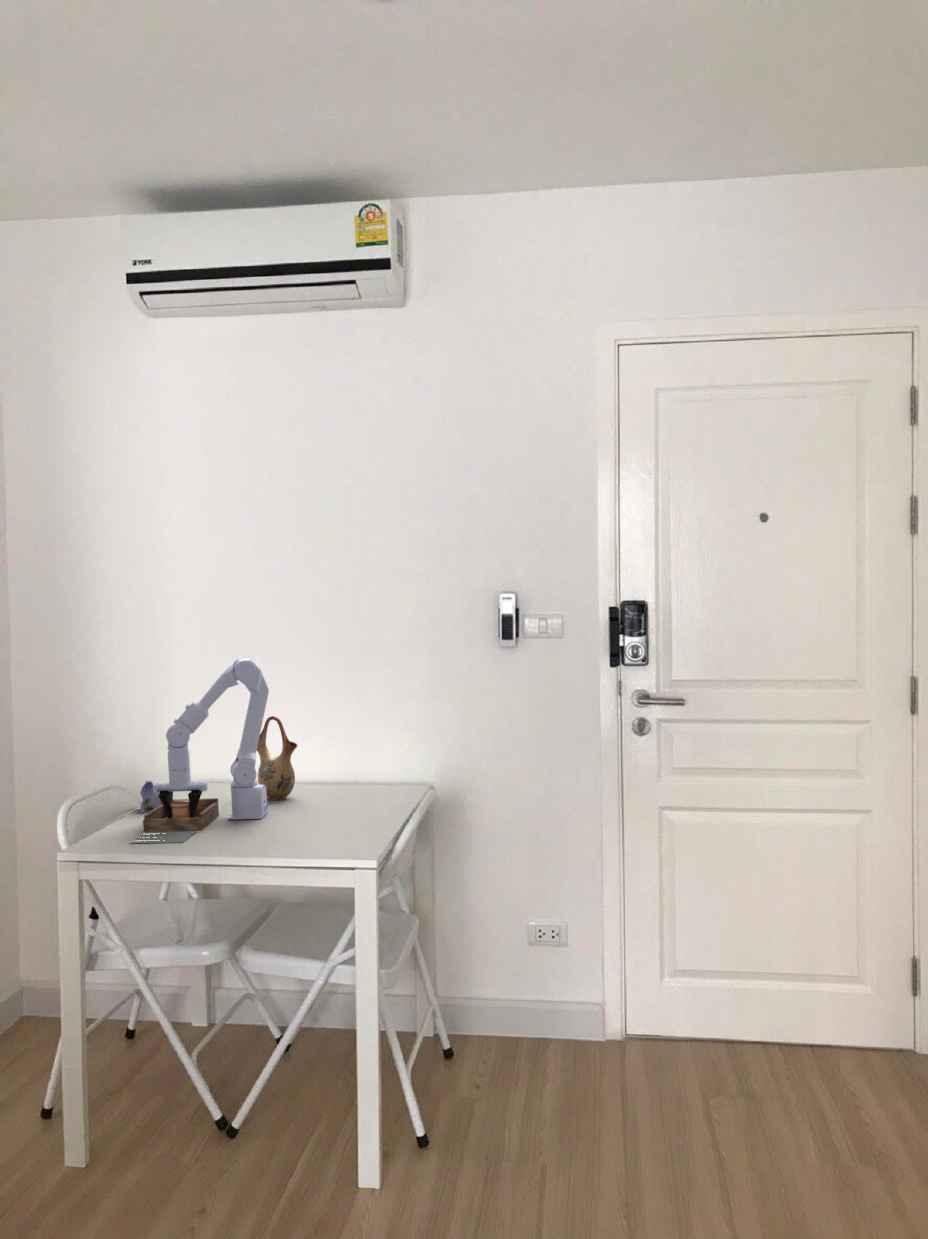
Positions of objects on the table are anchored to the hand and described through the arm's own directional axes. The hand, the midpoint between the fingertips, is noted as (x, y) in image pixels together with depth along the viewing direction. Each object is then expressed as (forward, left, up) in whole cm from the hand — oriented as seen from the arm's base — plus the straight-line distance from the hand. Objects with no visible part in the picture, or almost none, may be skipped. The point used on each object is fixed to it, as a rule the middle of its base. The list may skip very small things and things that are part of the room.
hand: (181, 817), depth 277 cm
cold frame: (0, 0, -2) cm, 2 cm away
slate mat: (0, +15, -2) cm, 15 cm away
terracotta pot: (0, 0, -2) cm, 2 cm away
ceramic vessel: (-20, -27, -2) cm, 34 cm away
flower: (+14, -17, -2) cm, 22 cm away
